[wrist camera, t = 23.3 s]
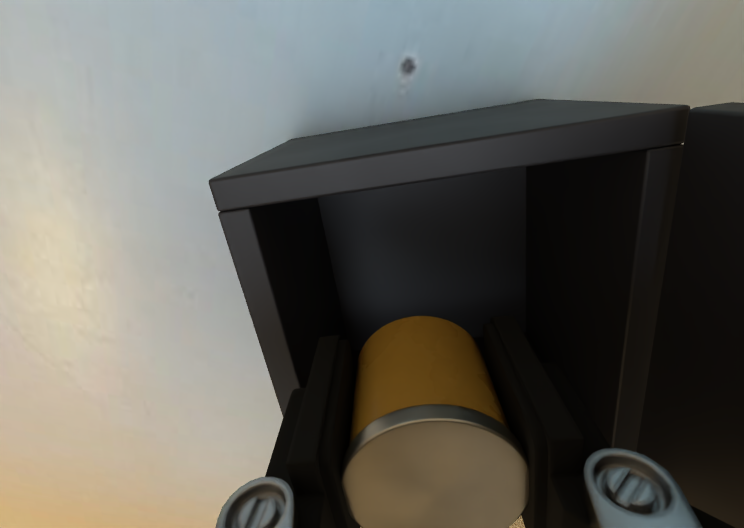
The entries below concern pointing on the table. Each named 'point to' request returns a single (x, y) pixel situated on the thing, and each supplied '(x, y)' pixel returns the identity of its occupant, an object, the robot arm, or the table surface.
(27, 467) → the table surface
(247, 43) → the table surface
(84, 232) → the table surface
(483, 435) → the coffee pod
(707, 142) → the lid
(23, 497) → the table surface
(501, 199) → the open storage bin
